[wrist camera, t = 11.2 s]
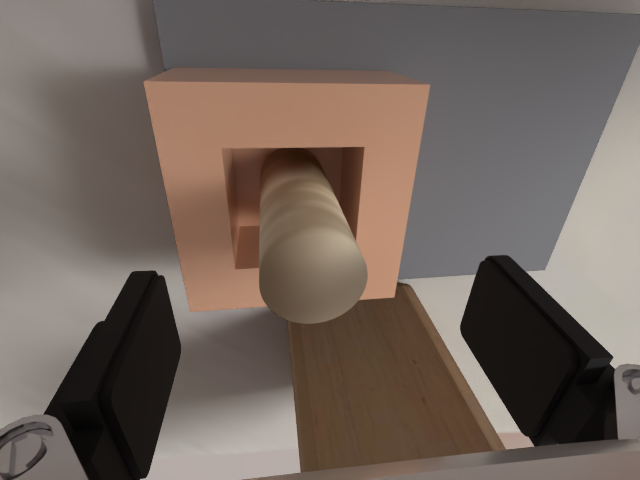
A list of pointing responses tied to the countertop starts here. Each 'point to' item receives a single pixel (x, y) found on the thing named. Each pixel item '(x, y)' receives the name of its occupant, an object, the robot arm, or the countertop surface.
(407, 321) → the wooden block
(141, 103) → the countertop surface
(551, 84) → the charcoal mat
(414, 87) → the terracotta box
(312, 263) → the birch dowel
